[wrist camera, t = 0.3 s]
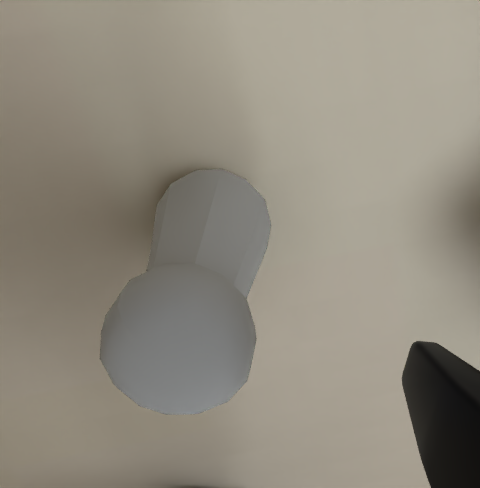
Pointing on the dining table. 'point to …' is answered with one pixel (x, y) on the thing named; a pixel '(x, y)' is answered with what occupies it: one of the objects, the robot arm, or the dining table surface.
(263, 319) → the dining table surface
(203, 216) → the salt shaker
